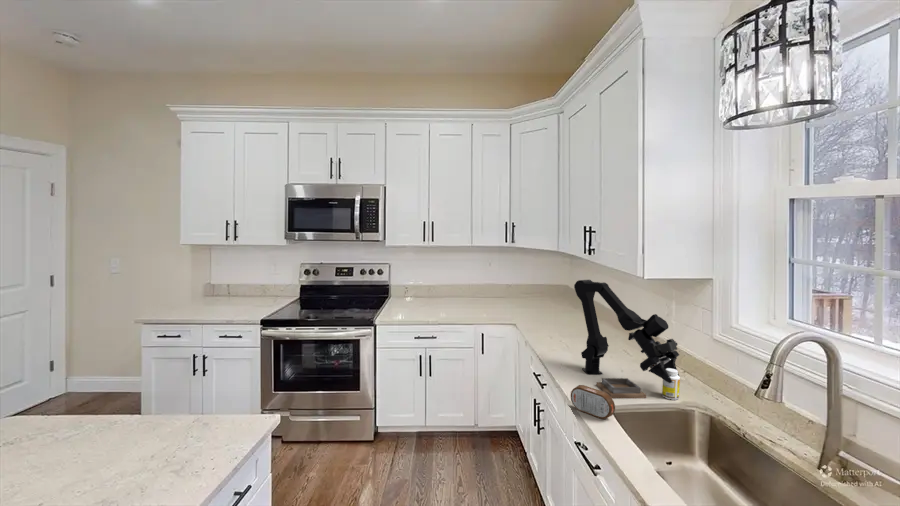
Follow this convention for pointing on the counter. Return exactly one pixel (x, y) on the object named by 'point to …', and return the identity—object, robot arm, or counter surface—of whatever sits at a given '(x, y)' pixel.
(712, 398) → the counter surface
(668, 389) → the supplement bottle
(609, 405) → the tin
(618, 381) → the collar base
